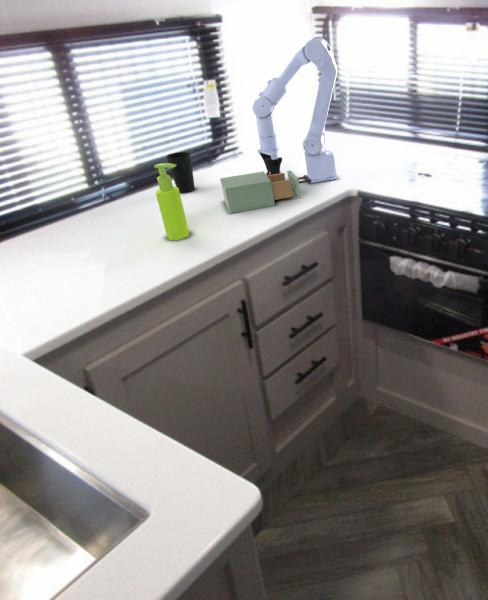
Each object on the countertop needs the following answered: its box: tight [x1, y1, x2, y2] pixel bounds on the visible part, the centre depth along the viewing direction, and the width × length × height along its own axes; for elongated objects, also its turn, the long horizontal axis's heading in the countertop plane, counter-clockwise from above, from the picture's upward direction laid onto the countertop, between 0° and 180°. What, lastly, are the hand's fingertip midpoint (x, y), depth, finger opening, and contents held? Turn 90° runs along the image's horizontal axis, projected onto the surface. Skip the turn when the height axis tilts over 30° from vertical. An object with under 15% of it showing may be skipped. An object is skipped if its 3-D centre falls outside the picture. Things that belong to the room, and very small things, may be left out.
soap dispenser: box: [153, 162, 190, 241], centre depth 152 cm, size 6×7×20 cm
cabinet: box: [219, 170, 276, 214], centre depth 176 cm, size 14×12×8 cm
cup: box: [165, 151, 196, 194], centre depth 190 cm, size 8×8×12 cm
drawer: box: [267, 169, 312, 201], centre depth 179 cm, size 17×10×6 cm, turn 111°
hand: (273, 175), depth 196 cm, fingers open, 7 cm apart
